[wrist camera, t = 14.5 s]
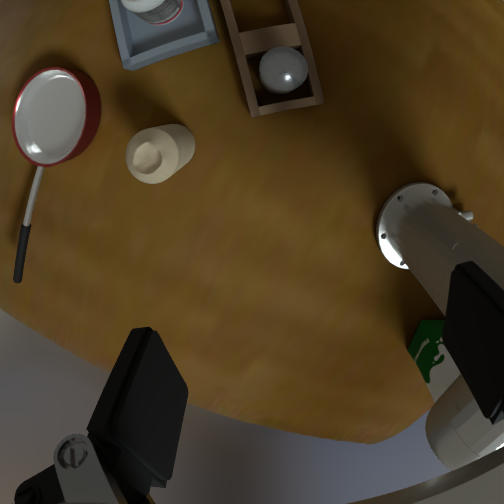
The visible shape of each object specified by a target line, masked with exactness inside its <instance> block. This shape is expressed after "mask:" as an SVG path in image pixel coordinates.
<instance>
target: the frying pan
mask: <svg viewBox="0 0 504 504" xmlns="http://www.w3.org/2000/svg"><path fill="white" fill-rule="evenodd" d="M100 118H101V100H100V95H99V92H98V89H97V87H96V85H95V84H94V82H93V80H92V79H91V78H90V77H89V76H88V75H87V74H85V73H83V72H82V71H79V70H76V69H71V68H61V67H50V68H46V69H43V70H41V71H39V72H37V73H36V74H34V75H33V76H32V77H31V78H30V79H29V80H28V81H27V82H26V83H25V84H24V86H23V87H22V89H21V91H20V92H19V94H18V97H17V99H16V101H15V105H14V109H13V116H12V130H13V136H14V140H15V142H16V145H17V147H18V149H19V151H20V153H21V154H22V155H23V156H24V158H25V159H27V160H28V161H29V162H30V163H32V164H34V165H36V166H38V167H37V171H36V174H35V178H34V181H33V185H32V189H31V193H30V196H29V201H28V205H27V209H26V213H25V218H24V223H23V224H22V226H21V231H20V236H19V242H18V248H17V254H16V261H15V269H14V277H13V280H14V282H15V283H20V282H21V281H22V275H23V268H24V262H25V255H26V249H27V244H28V238H29V233H30V228H31V224H30V222H31V217H32V213H33V209H34V205H35V201H36V197H37V193H38V189H39V185H40V182H41V178H42V175H43V172H44V168H45V167H51V166H54V165H57V164H60V163H63V162H65V161H68V160H71V159H73V158H75V157H76V156H78V155H80V154H81V153H82V152H83V151H84V150H85V149H87V147H88V146H89V145H90V143H91V142H92V140H93V138H94V136H95V135H96V133H97V130H98V127H99V124H100Z"/></svg>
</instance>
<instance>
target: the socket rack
mask: <svg viewBox="0 0 504 504" xmlns="http://www.w3.org/2000/svg"><path fill="white" fill-rule="evenodd" d="M284 1H285V5H286V8H287V11H288V14H289V18H290V21H291V23H290V24H284V25H277V26H272V27H266V28H261V29H256V30H251V31H246V32H241V33H239V31H238V28H237V24H236V21H235V17H234V14H233V10H232V7H231V3H230V0H220V2H221V5H222V9H223V12H224V16H225V19H226V23H227V26H228V30H229V34H230V37H231V41H232V45H233V48H234V52H235V56H236V59H237V63H238V67H239V71H240V75H241V78H242V82H243V86H244V90H245V94H246V98H247V102H248V106H249V110H250V114H251V118H252V117H256V116H261V115H265V114H270V113H275V112H280V111H285V110H290V109H296V108H301V107H307V106H313V105H320V104H325V102H324V98H323V93H322V89H321V85H320V80H319V76H318V72H317V68H316V64H315V60H314V56H313V53H312V49H311V45H310V42H309V38H308V34H307V31H306V27H305V24H304V21H303V17H302V14H301V11H300V8H299V4H298V1H297V0H284ZM276 47H290V48H293V49H299V52H300V53H301V54H302V55H303V57H304V58H305V60H306V62H307V65H308V74H307V77H306V81H307V85H308V89H309V93H310V97H308V98H302V99H296V100H290V101H285V102H280V103H275V104H270V105H265V106H260V107H258V103H257V99H256V95H255V91H254V88H253V84H252V80H251V76H250V72H249V68H248V64H247V61H246V59H247V58H251V57H256V56H261V55H265V53H267V52H268V51H269V50H271V49H273V48H276Z"/></svg>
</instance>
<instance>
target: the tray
mask: <svg viewBox="0 0 504 504" xmlns="http://www.w3.org/2000/svg"><path fill="white" fill-rule="evenodd" d="M109 3H110V8H111V13H112V18H113V23H114V28H115V33H116V37H117V42H118V46H119V51H120V55H121V59H122V64H123V68H124V69H128V70H132V71H134V70H137V69H139V68H142V67H144V66H147V65H150V64H152V63H155V62H158V61H160V60H163V59H166V58H169V57H172V56H175V55H178V54H181V53H184V52H187V51H190V50H194V49H197V48H200V47H204V46H207V45H211V44H215V43H219V42H220V41H219V37H218V33H217V30H216V26H215V22H214V19H213V15H212V12H211V8H210V4H209V1H208V0H184V7H183V10H182V12H181V14H180V15H179V16H178V17H177V18H176V19H175V20H174V21H172V22H170V23H168V24H166V25H159V26H157V25H151V24H149V23H147V22H146V21H144V20H143V19H141V18H140V17H138V16H137V15H136V14H134V13H133V12H131V11H129V10H128V9H127V8H125V7H124V6H123V4H122V2H121V0H109Z"/></svg>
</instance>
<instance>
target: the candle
mask: <svg viewBox="0 0 504 504" xmlns="http://www.w3.org/2000/svg"><path fill="white" fill-rule="evenodd" d="M194 151H195V139H194V137H193V135H192V133H191V132H190V131H189V130H188V129H187V128H186V127H184V126H182V125H179V124H167V125H162V126H157V127H152V128H148V129H144V130H142V131H139V132H138V133H136V134H135V135H134V136H133V137H132V138H131V140H130V141H129V143H128V146H127V149H126V163H127V166H128V168H129V170H130V172H131V173H132V175H133V176H134V177H136V178H137V179H138V180H140V181H142V182H145V183H149V184H155V183H160V182H162V181H164V180H166V179H168V178H169V177H170V176H171V175H173V174H174V173H175V172H176V171H178V170H179V169H180V168H181V167H183V166H184V165H185V164H186V163H188V162H189V161H190V159H191V158H192V156H193V154H194Z"/></svg>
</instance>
